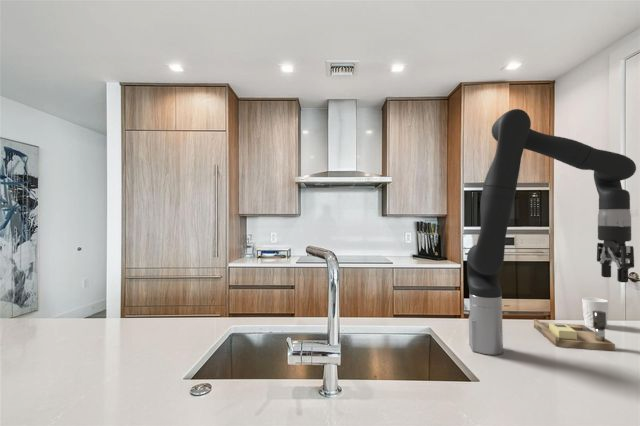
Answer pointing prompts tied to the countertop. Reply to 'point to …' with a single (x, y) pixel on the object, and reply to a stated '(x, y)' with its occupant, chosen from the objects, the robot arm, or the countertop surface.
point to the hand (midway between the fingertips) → (614, 279)
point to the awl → (599, 325)
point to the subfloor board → (583, 339)
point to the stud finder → (563, 331)
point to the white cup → (593, 309)
